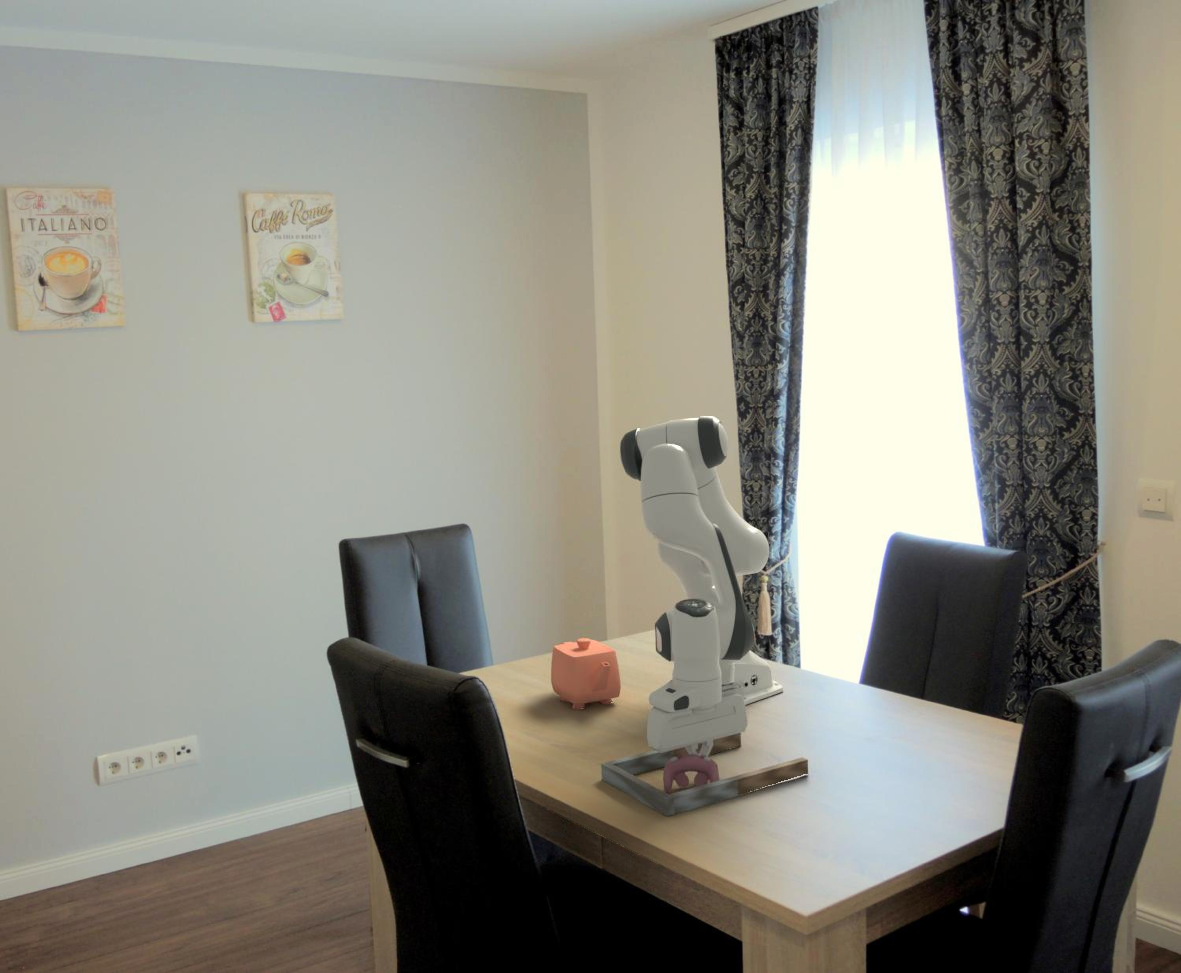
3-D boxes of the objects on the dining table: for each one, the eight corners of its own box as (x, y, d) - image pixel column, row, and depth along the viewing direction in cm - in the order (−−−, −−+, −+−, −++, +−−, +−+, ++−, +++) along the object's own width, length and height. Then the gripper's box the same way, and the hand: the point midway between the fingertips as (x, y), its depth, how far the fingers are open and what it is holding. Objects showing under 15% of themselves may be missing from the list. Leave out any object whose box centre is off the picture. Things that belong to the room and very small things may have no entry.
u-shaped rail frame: (736, 744, 227) (735, 729, 226) (808, 775, 209) (807, 759, 208) (601, 779, 211) (601, 763, 211) (667, 816, 193) (666, 799, 193)
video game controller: (719, 795, 205) (718, 755, 207) (719, 793, 201) (718, 752, 203) (664, 795, 206) (663, 755, 209) (662, 793, 202) (662, 752, 204)
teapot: (634, 709, 251) (632, 646, 250) (581, 719, 246) (578, 655, 244) (592, 684, 271) (589, 626, 269) (542, 693, 266) (539, 633, 264)
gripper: (732, 676, 215) (733, 748, 217) (641, 697, 205) (643, 772, 206) (753, 684, 210) (755, 757, 211) (661, 705, 199) (664, 782, 201)
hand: (699, 764), depth 209 cm, fingers closed
